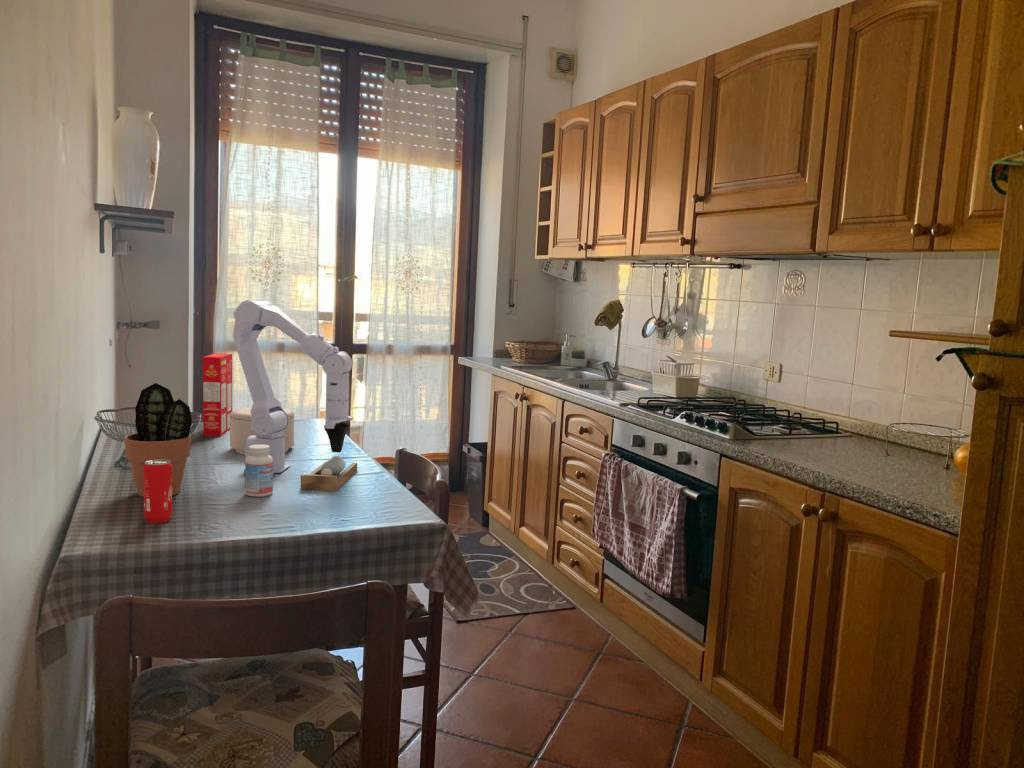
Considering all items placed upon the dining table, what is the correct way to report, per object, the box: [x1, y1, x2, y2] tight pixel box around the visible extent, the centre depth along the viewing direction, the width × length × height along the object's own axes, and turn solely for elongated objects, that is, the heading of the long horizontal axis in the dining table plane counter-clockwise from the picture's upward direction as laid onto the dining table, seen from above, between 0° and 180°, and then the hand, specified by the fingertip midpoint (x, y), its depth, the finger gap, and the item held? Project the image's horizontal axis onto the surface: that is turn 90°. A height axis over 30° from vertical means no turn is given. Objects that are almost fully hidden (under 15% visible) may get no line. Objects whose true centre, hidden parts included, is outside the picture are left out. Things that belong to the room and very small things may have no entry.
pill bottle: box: [244, 445, 274, 498], centre depth 177 cm, size 6×6×11 cm
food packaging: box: [202, 352, 233, 437], centre depth 248 cm, size 15×5×25 cm, turn 6°
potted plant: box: [124, 382, 193, 498], centre depth 174 cm, size 14×14×25 cm
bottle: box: [321, 455, 346, 476], centre depth 193 cm, size 4×4×11 cm
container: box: [229, 406, 295, 455], centre depth 225 cm, size 18×18×12 cm
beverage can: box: [143, 459, 173, 524], centre depth 154 cm, size 5×5×12 cm
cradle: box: [299, 460, 358, 492], centre depth 193 cm, size 8×21×4 cm, turn 178°
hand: (336, 451), depth 198 cm, fingers closed
